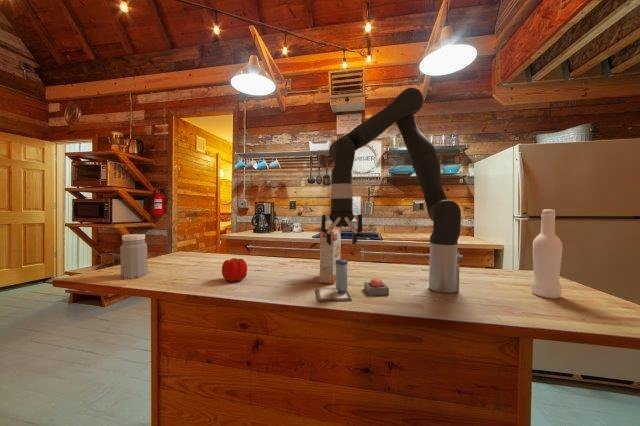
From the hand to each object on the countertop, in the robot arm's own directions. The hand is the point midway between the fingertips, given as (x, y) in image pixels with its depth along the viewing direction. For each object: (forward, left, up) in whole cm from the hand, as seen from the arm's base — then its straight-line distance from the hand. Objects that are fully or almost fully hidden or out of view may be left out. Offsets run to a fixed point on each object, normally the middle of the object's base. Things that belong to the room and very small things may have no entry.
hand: (341, 244), depth 90 cm
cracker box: (+2, -19, -18) cm, 26 cm away
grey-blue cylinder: (0, 0, -17) cm, 17 cm away
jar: (+87, -29, -18) cm, 93 cm away
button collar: (-13, -2, -18) cm, 22 cm away
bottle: (-71, +5, -18) cm, 74 cm away
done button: (-13, -2, -16) cm, 21 cm away
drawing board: (+3, 0, -18) cm, 18 cm away
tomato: (+42, -20, -18) cm, 50 cm away
